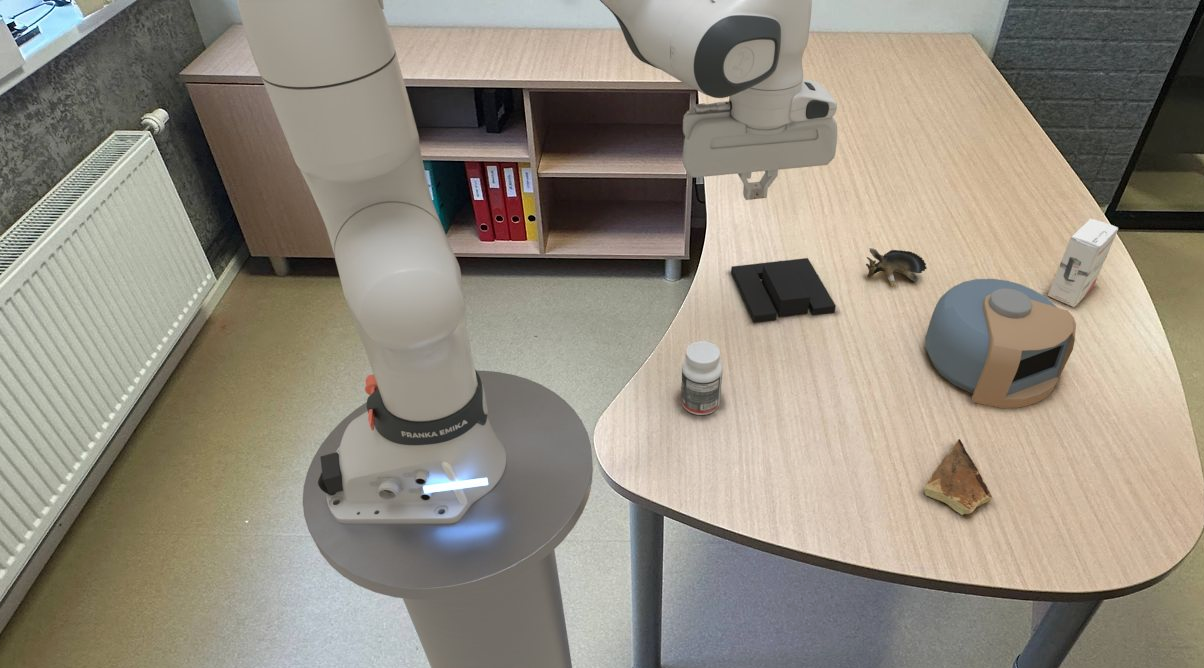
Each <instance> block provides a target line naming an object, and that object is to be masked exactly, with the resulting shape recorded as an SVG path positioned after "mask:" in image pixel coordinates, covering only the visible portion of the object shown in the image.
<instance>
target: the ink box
mask: <svg viewBox="0 0 1204 668" xmlns="http://www.w3.org/2000/svg"><path fill="white" fill-rule="evenodd" d="M1118 231H1119V227H1118V226H1115V225H1113V224H1110V223H1108V222H1105V221H1101V220H1097V219H1095V218H1089V219H1088V220H1087V221H1086V222H1085V223H1084V224H1083V225H1082V226H1081V227H1080V228H1079V229H1078V230H1077V231H1076V232H1074V234H1073V235H1071V237H1070V238H1069V241H1068V243H1067V246H1066V248H1065V251H1064V253H1063V256H1062V258H1061V261H1060V263H1059V266H1058V268H1057V271H1056V274H1055V275H1054V278H1053V281H1052V283H1051V286H1050V288H1049V291H1048V293H1047V296H1048V297H1050V298H1052V299H1054V300H1057V301H1058V302H1061V303H1063V304H1066V305H1067V306H1070V307H1072V308H1075V307H1076V306H1077V305H1078V304H1079V303H1080V302H1081V301H1082V300H1083V299H1084V297H1085V296H1087V294H1088V293H1089V292H1090V291H1091V290H1092V289H1093V288H1094V286H1095V284H1096V282H1097V280H1098V277H1099V275H1100V273H1101V270H1102V268H1103V266H1104V263H1105V261H1106V259H1107V257H1108V254H1109V252H1110V249H1111V248H1112V245H1113V243H1114V240H1115V238H1116V236H1117V234H1118Z"/></svg>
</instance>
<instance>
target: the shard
mask: <svg viewBox="0 0 1204 668" xmlns="http://www.w3.org/2000/svg"><path fill="white" fill-rule="evenodd" d="M924 495H925V496H926V497H929V498H931V499H934V500H937V501H939V502H942V503H945V504H946V505H948V506H949V507H950V508H951V509H952V510H953V511H955V512H957V513H958V514H959V515H960V516H963V515H967V514H971V513H973V512H974V511H975V510H977V509H976V508H978V507H980V506H982V505H984V504H986V503H988V502H990V501H991V500H992V499H993V497H992V494H991V492H990V490H989V488H988V486H987V484H986V483H985V482H984V478H983V477H982V475H981V473H980V471H979V469H978V467H977V465H976V464H975V463H974V461H973V459H972V458H971V456H970V455H969V453H968V452H967V450H966V448H965V447H964V443H963V442H962V441H961V439H960V438H958V440H957V441H956V442H955V444H954V445H953V446H952V448H951V450H950V451H949V452H948V453H947V455H946V456H945V457H944V458H943V459H942V460H941V462H940V463H939V464H938V465H937V467H936V468H935V470H934V471H933V472H932V474H931V475H930V477H929V480H928V481H927V483H926V484H925V487H924Z"/></svg>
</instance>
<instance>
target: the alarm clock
mask: <svg viewBox="0 0 1204 668" xmlns="http://www.w3.org/2000/svg"><path fill="white" fill-rule="evenodd" d="M1076 329H1077V325H1076V319H1075V317H1074V316H1073V314H1071V312H1069V310H1067V309H1063V308H1061V307H1058V306H1056V305H1055V304H1054V303H1053V302H1052V301H1051V300H1050V299H1049V298H1048V297H1046V296H1045V295H1043V294H1041V293H1039V292H1038V291H1036V290H1035V289H1032V288H1030V287H1028V286H1026V285H1023V284H1021V283H1017V282H1013V281H1010V280H1004V279H997V278H976V279H971V280H965V281H962V282H960V283H958V284H956V285H954V286H952V287H950V288H949V289H948V290H947V291H946V292H945V293H944V294H942V295H941V297H940V298H939V300H938V301H937V303H936V305H935V306H934V309H933V312H932V314H931V317H930V321H929V324H928V327H927V330H926V333H925V336H924V343H925V344H924V345H925V349H926V351H927V354H928V356H929V359H930V362H931V363H932V365H933V367H934V369H935V370H936V371H937V372H938V373H939V374H940V375H941V377H943V378H944V379H945V380H947V381H948V382H949V383H951V384H952V385H954V386H956V387H957V388H960V389H961V390H964V391H965V392H967V393H971V394H972V396H971V402H972V403H974V404H979V405H983V406H989V407H994V408H1000V409H1017V408H1019V409H1021V408H1024V407H1027V406H1030V405H1034V404H1036V403H1038V402H1041V401H1042V400H1044V399H1046V398H1048V397H1049V395H1050V394H1051V393H1052V392H1053V390H1054V389H1055V387H1056V385H1057V383H1058V381H1059V380H1060V377H1061V375H1062V373H1063V371H1064V369H1065V367H1066V365H1067V362H1068V360H1069V359H1070V356H1071V354H1072V352H1073V350H1074V347H1075V342H1076V332H1077V331H1076Z"/></svg>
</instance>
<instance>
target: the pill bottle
mask: <svg viewBox="0 0 1204 668" xmlns="http://www.w3.org/2000/svg"><path fill="white" fill-rule="evenodd" d="M720 359H721V351H720V348H719V347H718V346H717V345H716V344H715V343H713V342H710V341H707V340H698V341H694V342H692V343H690V344H689V345H688V346H687V348H686V350H685V359H684V360H683V362H682V366H681V383H680V385H681V386H680V387H681V388H680V401H681V406H682V407H683V408H684V409H685V410H686V411H687V412H689V413H691V414H693V415H698V416H706V415H710V414H712V413H714V412H715V411H716V410H717V409H718V408H719V406H720V405H721V404H720V403H721V397H722V396H721V395H722V381H723V369H724V367H723V363H722V361H721V360H720Z"/></svg>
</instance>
